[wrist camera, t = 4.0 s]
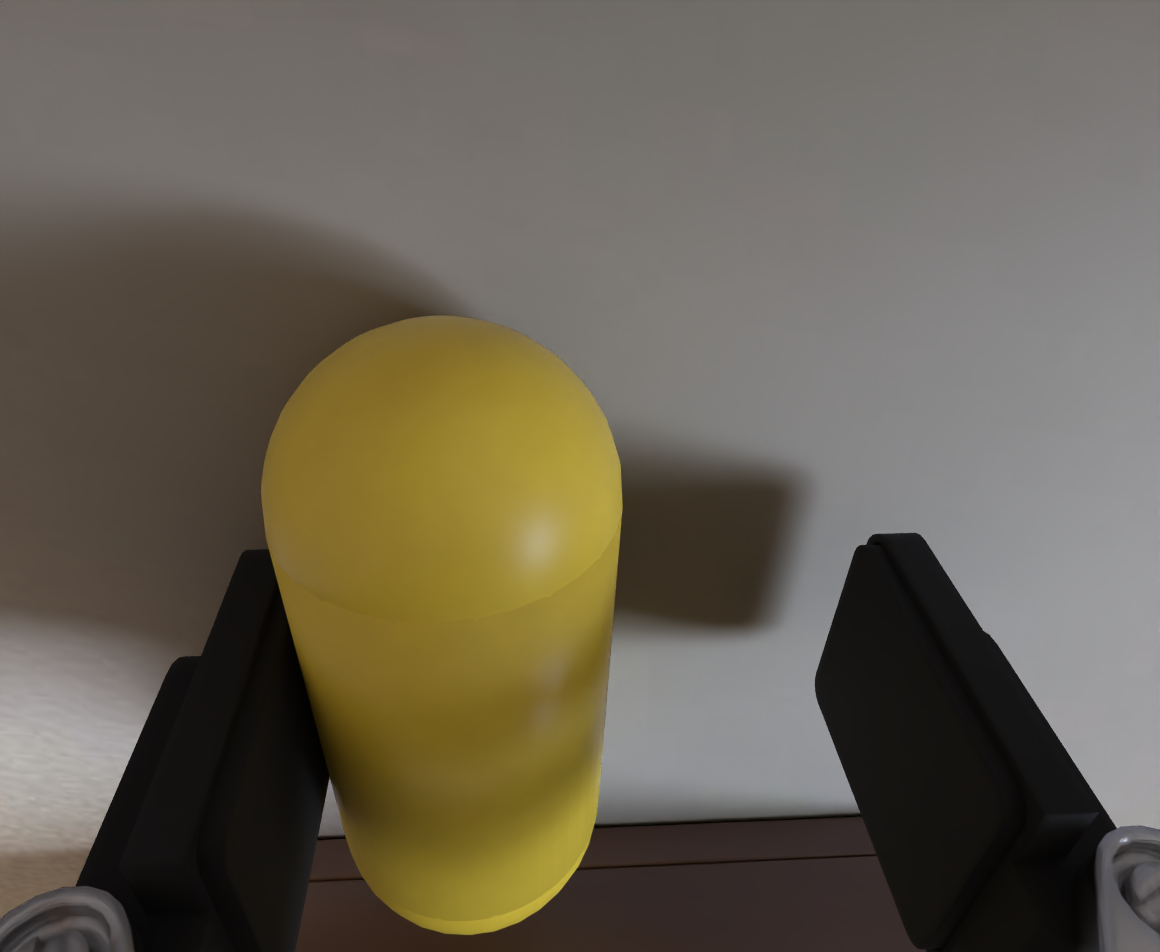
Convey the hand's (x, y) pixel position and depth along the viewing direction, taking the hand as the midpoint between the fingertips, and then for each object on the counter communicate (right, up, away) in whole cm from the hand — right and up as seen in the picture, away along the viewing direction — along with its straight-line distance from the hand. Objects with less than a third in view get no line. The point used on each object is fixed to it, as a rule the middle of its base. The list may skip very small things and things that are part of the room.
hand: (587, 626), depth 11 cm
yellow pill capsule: (0, 0, 0) cm, 0 cm away
